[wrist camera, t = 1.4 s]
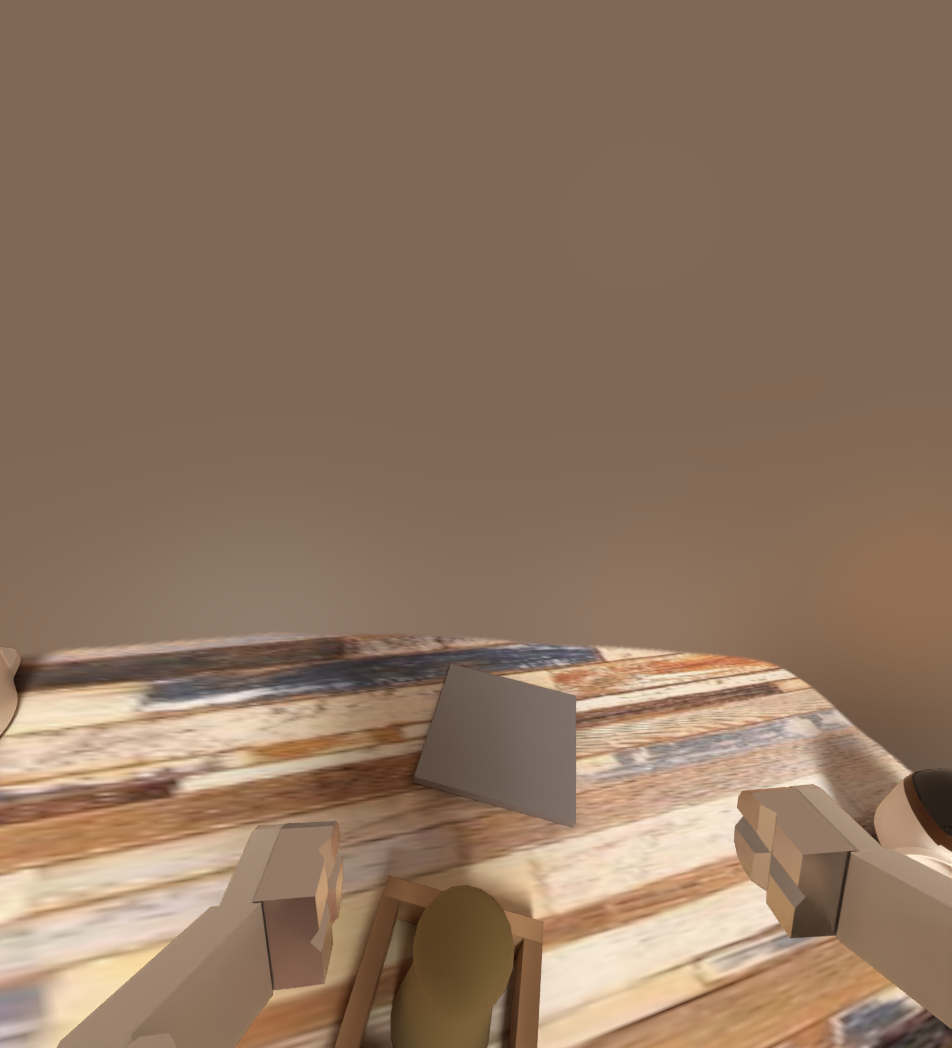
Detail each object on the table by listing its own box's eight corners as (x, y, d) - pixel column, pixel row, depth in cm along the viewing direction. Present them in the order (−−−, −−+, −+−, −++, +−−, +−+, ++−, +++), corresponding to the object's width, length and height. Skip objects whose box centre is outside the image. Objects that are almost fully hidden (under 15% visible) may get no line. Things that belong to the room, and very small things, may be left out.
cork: (454, 935, 33) (481, 843, 28) (510, 1038, 29) (553, 953, 24) (372, 999, 30) (386, 908, 25) (423, 1126, 26) (452, 1050, 21)
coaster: (413, 782, 43) (414, 776, 42) (449, 669, 55) (450, 663, 54) (573, 827, 41) (575, 822, 41) (574, 701, 54) (575, 696, 53)
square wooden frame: (314, 1125, 25) (314, 1109, 24) (385, 894, 35) (388, 875, 34) (519, 1196, 25) (529, 1184, 23) (535, 939, 34) (543, 921, 33)
